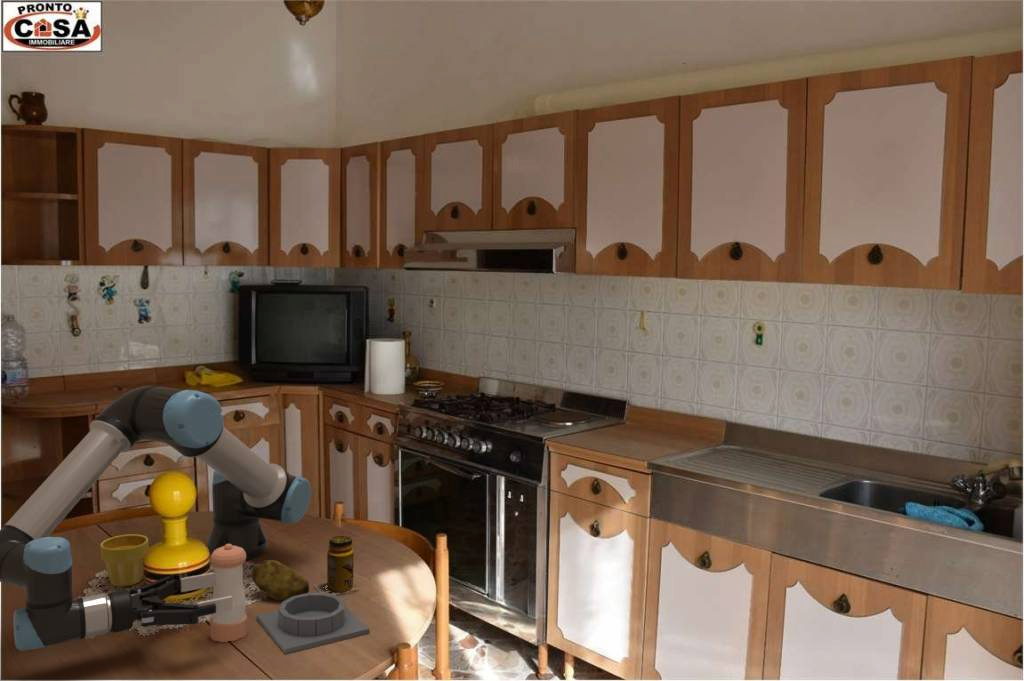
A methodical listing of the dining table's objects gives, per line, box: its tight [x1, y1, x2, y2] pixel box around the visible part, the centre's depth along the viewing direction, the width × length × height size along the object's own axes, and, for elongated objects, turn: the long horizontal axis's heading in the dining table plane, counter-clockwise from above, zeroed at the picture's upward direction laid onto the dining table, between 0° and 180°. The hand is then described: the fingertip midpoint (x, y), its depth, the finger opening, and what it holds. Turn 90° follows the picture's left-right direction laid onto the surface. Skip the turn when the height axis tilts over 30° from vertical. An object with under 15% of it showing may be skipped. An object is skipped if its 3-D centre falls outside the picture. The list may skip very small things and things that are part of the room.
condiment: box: [313, 535, 355, 596], centre depth 199 cm, size 7×8×12 cm
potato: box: [251, 559, 310, 602], centre depth 194 cm, size 8×13×8 cm, turn 60°
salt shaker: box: [209, 544, 248, 643], centre depth 174 cm, size 7×7×19 cm
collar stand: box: [256, 592, 370, 655], centre depth 180 cm, size 18×18×4 cm
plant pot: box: [99, 533, 150, 588], centre depth 200 cm, size 10×10×10 cm
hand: (222, 590), depth 173 cm, fingers open, 13 cm apart
